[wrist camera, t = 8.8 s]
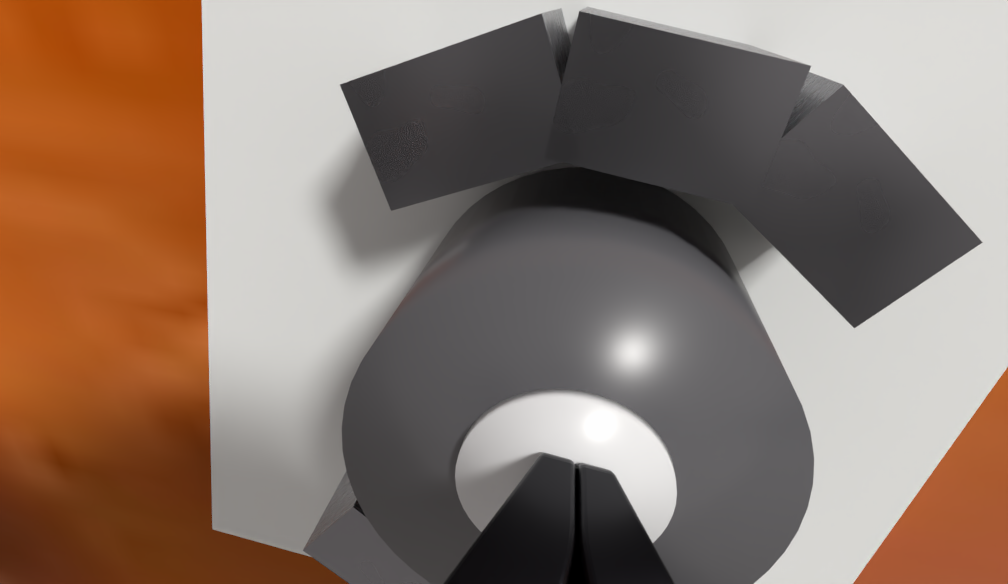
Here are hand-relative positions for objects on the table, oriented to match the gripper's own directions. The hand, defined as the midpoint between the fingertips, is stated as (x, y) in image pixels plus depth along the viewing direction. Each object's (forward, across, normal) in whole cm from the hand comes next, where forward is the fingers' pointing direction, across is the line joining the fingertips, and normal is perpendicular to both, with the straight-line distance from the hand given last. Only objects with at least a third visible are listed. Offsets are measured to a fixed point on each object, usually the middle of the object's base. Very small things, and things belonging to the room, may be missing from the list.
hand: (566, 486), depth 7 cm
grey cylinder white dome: (+4, 0, 0) cm, 4 cm away
